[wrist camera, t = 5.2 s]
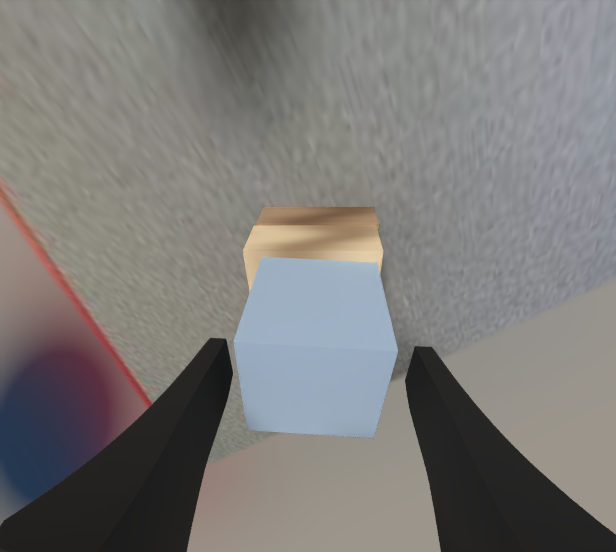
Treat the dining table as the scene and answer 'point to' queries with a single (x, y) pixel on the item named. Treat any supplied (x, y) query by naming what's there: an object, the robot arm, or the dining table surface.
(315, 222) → the lower slab
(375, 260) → the upper slab
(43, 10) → the dining table surface
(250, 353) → the cube
